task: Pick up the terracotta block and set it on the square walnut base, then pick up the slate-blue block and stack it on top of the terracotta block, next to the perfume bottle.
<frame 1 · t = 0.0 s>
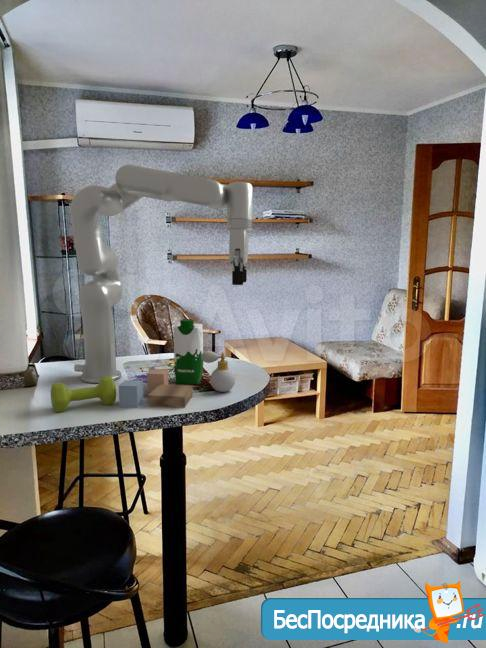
hand: (239, 283, 144), 31 cm above the breakfast bar, tool pointing down, fingers open, 9 cm apart
perfume bottle: (219, 391, 141), on the breakfast bar
terracotta block: (158, 391, 141), on the breakfast bar
milk carton: (189, 381, 151), on the breakfast bar
dumbbell: (84, 407, 128), on the breakfast bar
walnut base: (171, 400, 132), on the breakfast bar
slate block: (131, 404, 129), on the breakfast bar
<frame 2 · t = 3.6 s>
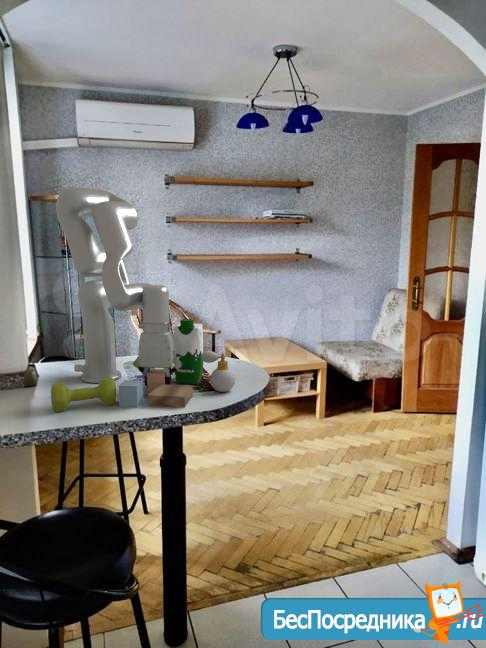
hand: (158, 387, 140), 1 cm above the breakfast bar, tool pointing down, fingers closed on terracotta block, 5 cm apart
terracotta block: (158, 391, 141), on the breakfast bar, touching gripper
everything else where it was.
when the fingers open (5 cm above the breakfast bar, at t = 7.4 s): terracotta block drops 1 cm, resting on walnut base.
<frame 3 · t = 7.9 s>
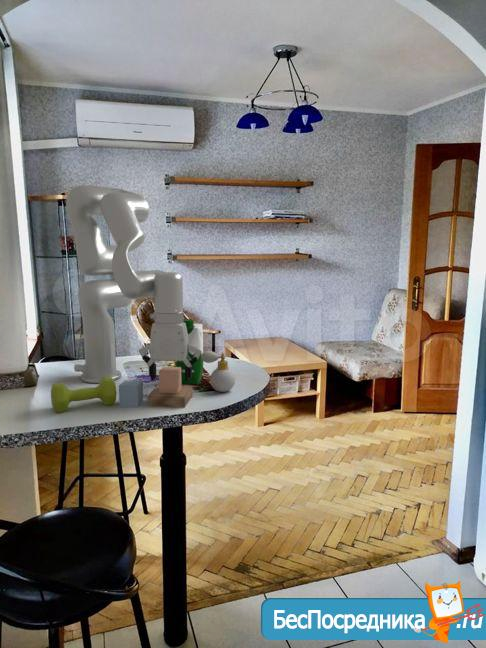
hand: (170, 379, 131), 6 cm above the breakfast bar, tool pointing down, fingers open, 9 cm apart
terracotta block: (170, 390, 132), point 3 cm above the breakfast bar, touching walnut base
everything else where it was.
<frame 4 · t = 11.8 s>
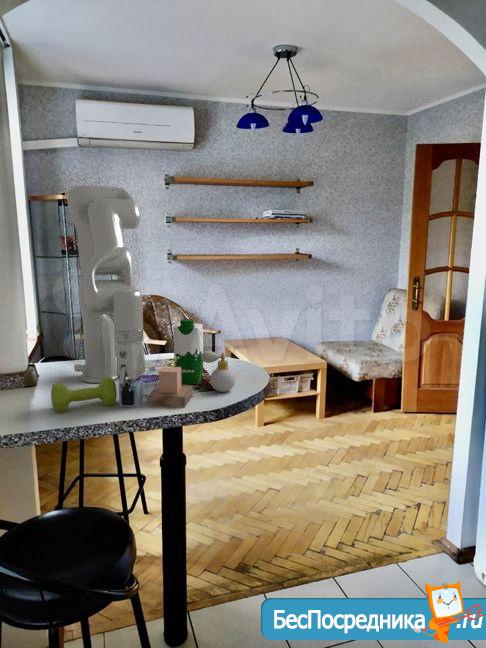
hand: (131, 400, 129), 1 cm above the breakfast bar, tool pointing down, fingers closed on slate block, 5 cm apart
slate block: (131, 404, 129), on the breakfast bar, touching gripper
everything else where it was.
when the fingers open (11 cm above the breakfast bar, at t = 16.3 s): slate block drops 1 cm, resting on terracotta block.
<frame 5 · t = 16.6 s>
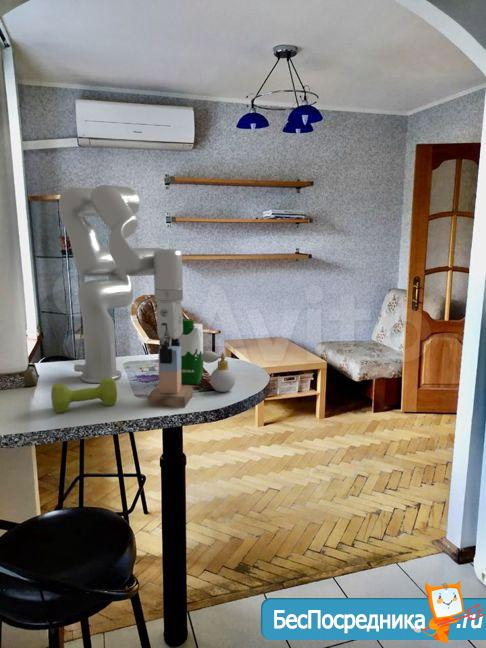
hand: (170, 359, 130), 12 cm above the breakfast bar, tool pointing down, fingers open, 7 cm apart
terracotta block: (170, 390, 132), point 3 cm above the breakfast bar, touching slate block, walnut base
slate block: (170, 369, 131), point 9 cm above the breakfast bar, touching terracotta block
everything else where it was.
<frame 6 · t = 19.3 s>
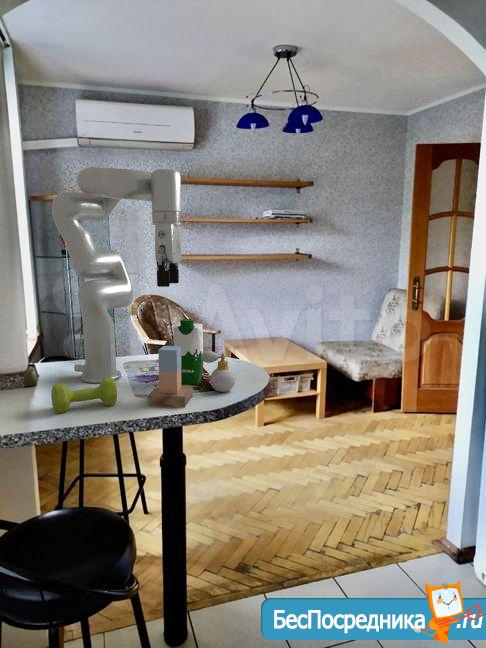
hand: (168, 284, 127), 32 cm above the breakfast bar, tool pointing down, fingers open, 9 cm apart
nothing on the breakfast bar moved.
at the end: terracotta block inside the target area on the walnut base (0.1 cm from its centre), point 3.0 cm above the walnut base's base; slate block 0.1 cm off-centre on the terracotta block, point 6.0 cm above the terracotta block's base; slate block tilted 0° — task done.
